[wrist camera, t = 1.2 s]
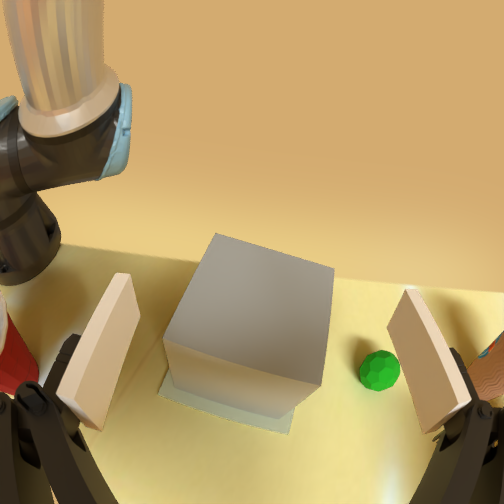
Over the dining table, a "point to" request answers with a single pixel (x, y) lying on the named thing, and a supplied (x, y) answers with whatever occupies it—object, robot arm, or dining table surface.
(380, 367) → the polyhedron
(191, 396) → the mat
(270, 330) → the cover
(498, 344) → the coffee cup
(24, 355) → the plastic cup
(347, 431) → the dining table surface
